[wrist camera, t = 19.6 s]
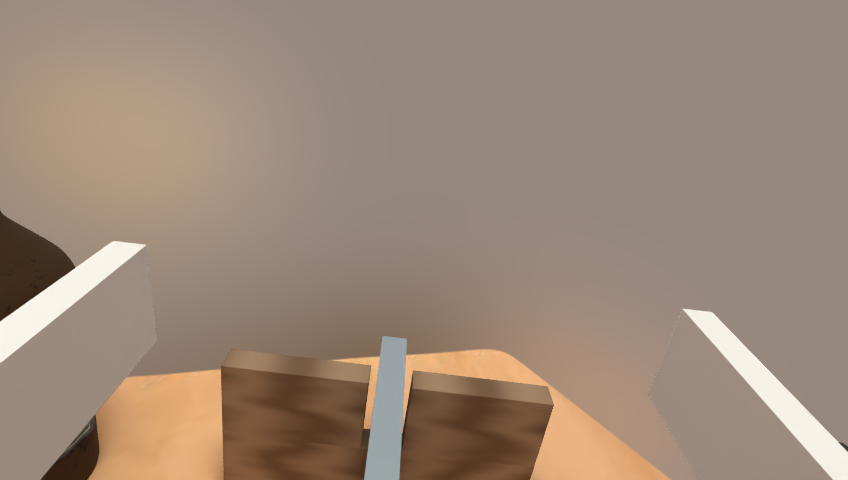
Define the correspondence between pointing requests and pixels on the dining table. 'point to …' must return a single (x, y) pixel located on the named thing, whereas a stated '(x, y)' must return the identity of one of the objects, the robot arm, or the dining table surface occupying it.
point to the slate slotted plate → (387, 413)
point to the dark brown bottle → (19, 283)
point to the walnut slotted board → (347, 440)
